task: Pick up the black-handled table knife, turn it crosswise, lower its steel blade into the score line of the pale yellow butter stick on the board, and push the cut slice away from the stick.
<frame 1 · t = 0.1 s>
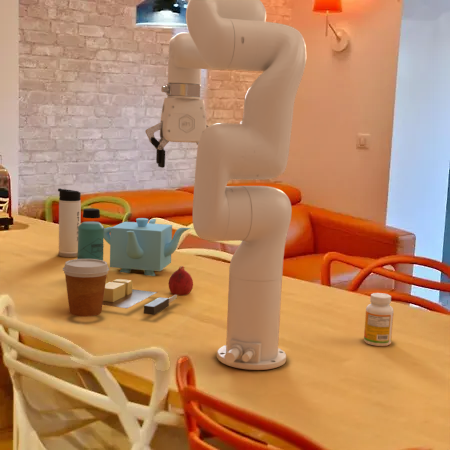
hand: (181, 167, 172), 31 cm above the table, tool pointing down, fingers open, 9 cm apart
supplement bottle: (377, 343, 149), on the table
onion: (180, 299, 176), on the table
board: (119, 303, 170), on the table
butter slice: (122, 293, 174), point 1 cm above the table, touching board
teakettle: (144, 272, 204), on the table
butter: (111, 298, 168), point 1 cm above the table, touching board
beverage bottle: (89, 290, 182), on the table
knife: (163, 311, 165), on the table
travel mug: (68, 256, 222), on the table
disposable coffee cup: (85, 319, 157), on the table
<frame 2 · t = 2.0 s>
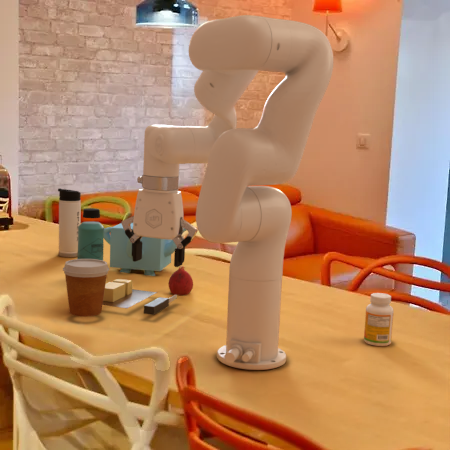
hand: (157, 263, 160), 12 cm above the table, tool pointing down, fingers open, 9 cm apart
nothing on the table moved.
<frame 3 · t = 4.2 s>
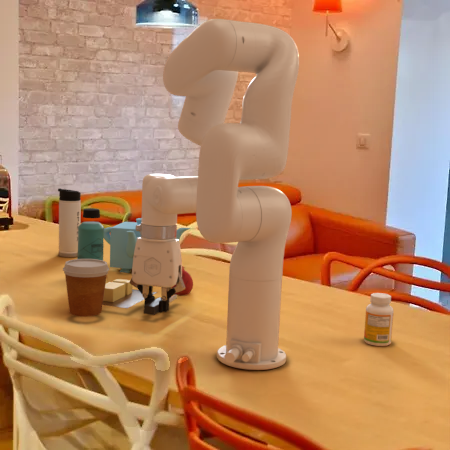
hand: (156, 315, 161), 0 cm above the table, tool pointing down, fingers closed on knife, 2 cm apart
knife: (163, 311, 165), on the table, touching gripper
everything else where it was.
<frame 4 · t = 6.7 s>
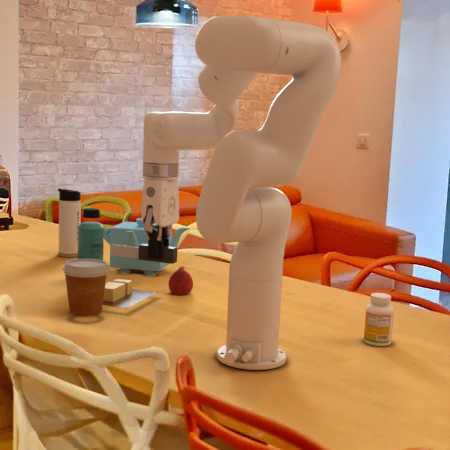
hand: (158, 256, 159), 13 cm above the table, tool pointing down, fingers closed on knife, 2 cm apart
knife: (140, 258, 160), point 12 cm above the table, touching gripper
everything else where it was.
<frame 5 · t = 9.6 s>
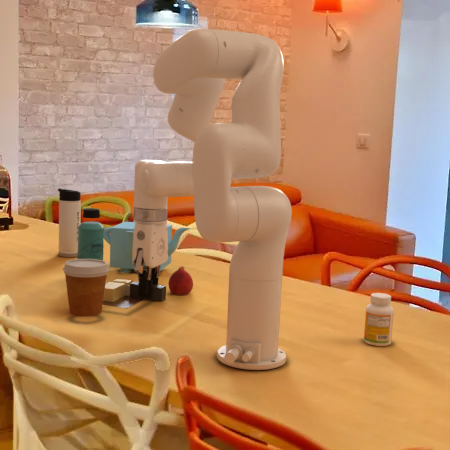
hand: (148, 294, 169), 2 cm above the table, tool pointing down, fingers closed on knife, 2 cm apart
knife: (131, 296, 171), point 2 cm above the table, touching gripper
everything else where it was.
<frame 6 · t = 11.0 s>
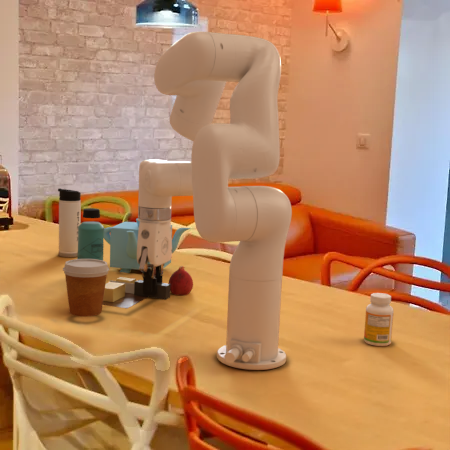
hand: (152, 292, 172), 2 cm above the table, tool pointing down, fingers closed on knife, 2 cm apart
butter slice: (125, 291, 175), point 1 cm above the table, touching board, knife
knife: (136, 294, 173), point 2 cm above the table, touching board, butter slice, gripper
everything else where it was.
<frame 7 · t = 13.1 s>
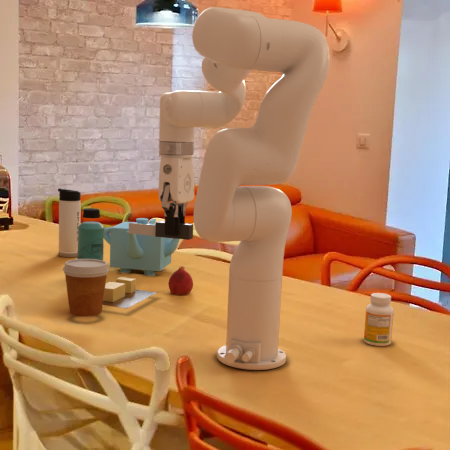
hand: (174, 233, 164), 17 cm above the table, tool pointing down, fingers closed on knife, 2 cm apart
butter slice: (125, 291, 175), point 1 cm above the table, touching board
knife: (157, 236, 165), point 16 cm above the table, touching gripper
everything else where it was.
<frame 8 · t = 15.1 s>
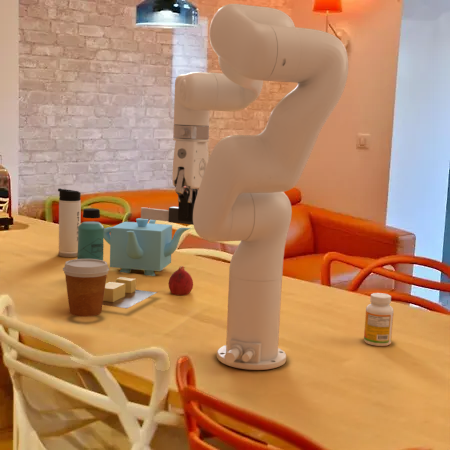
hand: (188, 219, 160), 21 cm above the table, tool pointing down, fingers closed on knife, 2 cm apart
knife: (170, 221, 161), point 20 cm above the table, touching gripper
everything else where it was.
at the end: butter slice moved 1.9 cm from its start; butter slice touching board; butter moved 0.0 cm from its start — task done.
